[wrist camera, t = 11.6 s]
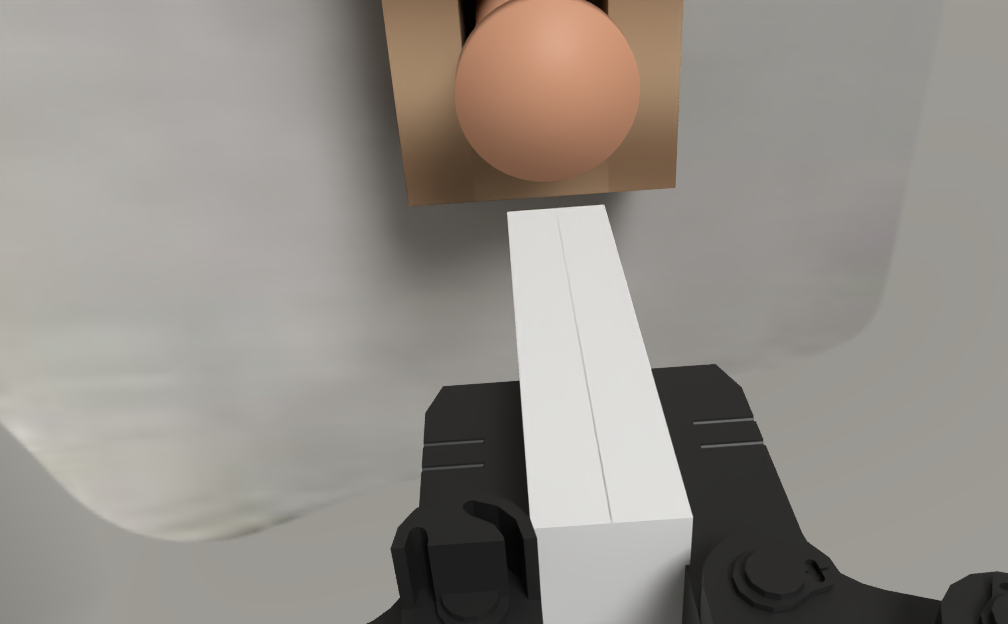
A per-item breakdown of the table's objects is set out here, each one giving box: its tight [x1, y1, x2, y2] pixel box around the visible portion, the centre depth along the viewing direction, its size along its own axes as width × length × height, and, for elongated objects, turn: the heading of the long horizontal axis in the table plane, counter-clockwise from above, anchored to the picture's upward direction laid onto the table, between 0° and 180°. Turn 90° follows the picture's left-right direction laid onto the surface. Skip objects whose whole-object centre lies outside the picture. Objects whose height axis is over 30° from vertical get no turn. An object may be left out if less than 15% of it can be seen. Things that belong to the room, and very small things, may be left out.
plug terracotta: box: [455, 0, 640, 182], centre depth 29 cm, size 5×5×9 cm
